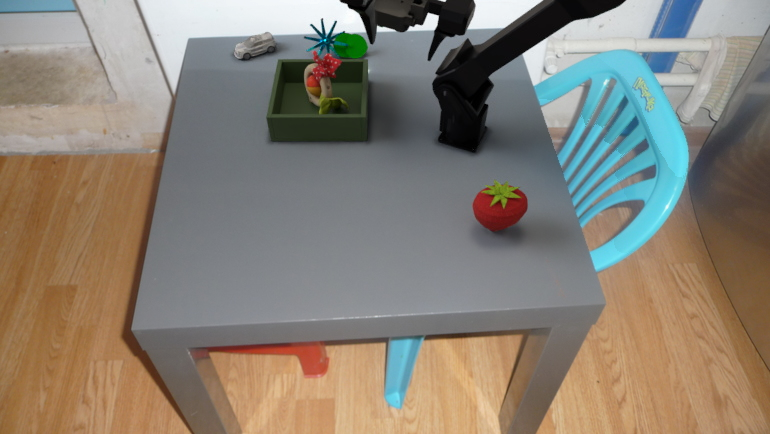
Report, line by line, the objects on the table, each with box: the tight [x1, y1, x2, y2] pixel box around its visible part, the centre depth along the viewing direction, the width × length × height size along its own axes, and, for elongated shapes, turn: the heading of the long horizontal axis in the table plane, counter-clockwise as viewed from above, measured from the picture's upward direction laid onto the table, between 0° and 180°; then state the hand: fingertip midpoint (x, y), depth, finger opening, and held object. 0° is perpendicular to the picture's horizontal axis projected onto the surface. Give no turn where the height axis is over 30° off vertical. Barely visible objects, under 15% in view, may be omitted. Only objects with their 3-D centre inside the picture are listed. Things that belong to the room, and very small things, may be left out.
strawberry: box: [471, 178, 529, 233], centre depth 79 cm, size 6×8×10 cm
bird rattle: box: [304, 50, 349, 114], centre depth 96 cm, size 6×11×9 cm
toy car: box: [233, 31, 278, 61], centre depth 111 cm, size 4×8×3 cm, turn 118°
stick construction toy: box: [302, 18, 369, 59], centre depth 110 cm, size 12×7×8 cm
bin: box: [265, 58, 370, 142], centre depth 98 cm, size 16×16×5 cm
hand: (400, 51), depth 89 cm, fingers open, 9 cm apart
